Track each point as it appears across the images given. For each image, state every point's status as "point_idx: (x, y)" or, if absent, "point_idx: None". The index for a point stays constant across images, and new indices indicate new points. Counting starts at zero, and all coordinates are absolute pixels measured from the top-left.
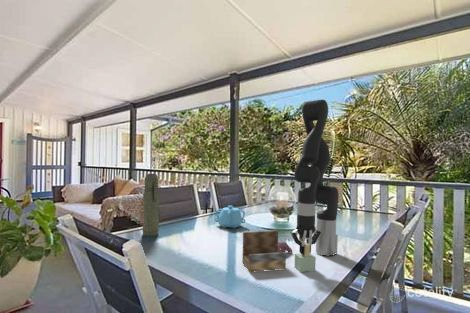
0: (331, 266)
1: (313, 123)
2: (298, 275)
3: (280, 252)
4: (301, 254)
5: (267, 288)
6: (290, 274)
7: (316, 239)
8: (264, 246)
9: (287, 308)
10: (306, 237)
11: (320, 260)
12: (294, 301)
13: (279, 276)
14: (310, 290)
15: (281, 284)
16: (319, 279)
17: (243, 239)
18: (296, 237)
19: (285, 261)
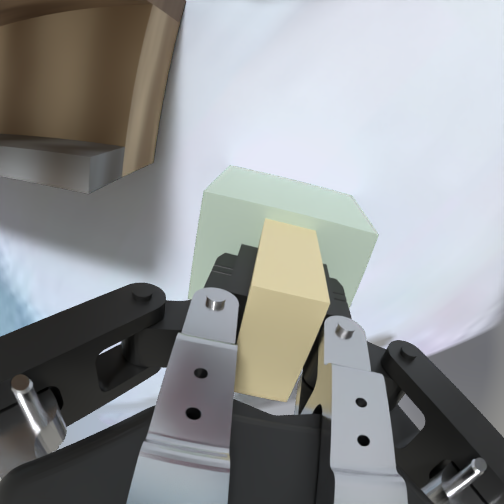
0: (468, 263)
1: None
2: (178, 273)
3: (50, 166)
4: (259, 235)
5: (15, 300)
6: (141, 241)
7: (403, 442)
8: (7, 5)
9: None
10: (318, 400)
11: (497, 156)
12: None
13: (77, 236)
14: (148, 388)
15: (62, 304)
16: None
17: None
18: (62, 412)
19: (126, 173)
